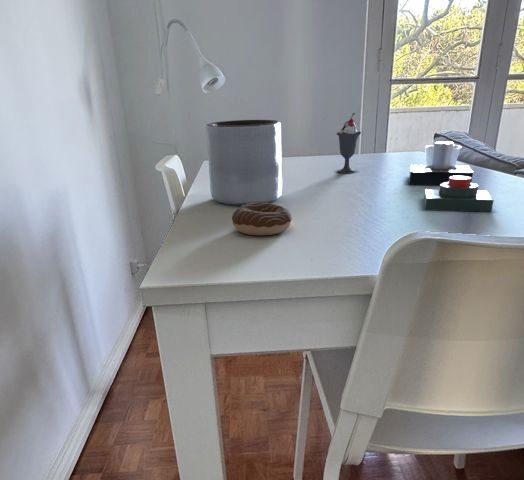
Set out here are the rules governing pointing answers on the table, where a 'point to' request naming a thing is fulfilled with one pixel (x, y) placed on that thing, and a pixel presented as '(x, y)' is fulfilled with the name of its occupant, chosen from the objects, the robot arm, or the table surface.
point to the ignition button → (459, 181)
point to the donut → (261, 219)
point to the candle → (454, 155)
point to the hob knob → (442, 155)
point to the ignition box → (458, 198)
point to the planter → (245, 161)
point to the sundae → (348, 143)
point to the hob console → (435, 174)
